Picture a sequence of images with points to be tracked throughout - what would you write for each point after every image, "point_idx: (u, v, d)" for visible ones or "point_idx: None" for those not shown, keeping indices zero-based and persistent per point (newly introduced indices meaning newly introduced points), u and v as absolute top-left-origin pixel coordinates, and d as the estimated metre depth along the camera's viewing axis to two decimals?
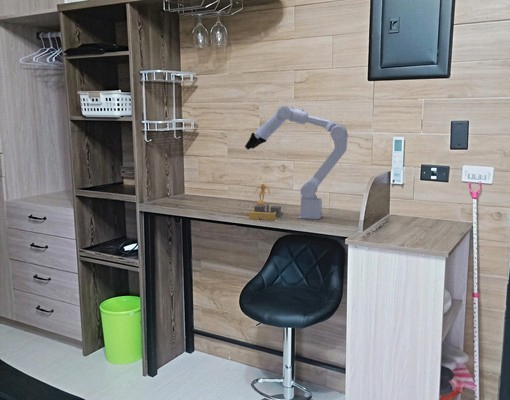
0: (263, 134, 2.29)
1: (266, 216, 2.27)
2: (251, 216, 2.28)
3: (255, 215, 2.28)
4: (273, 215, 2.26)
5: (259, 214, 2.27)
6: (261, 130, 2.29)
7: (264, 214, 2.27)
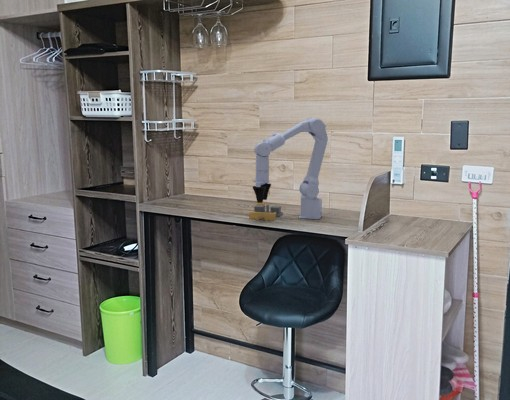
0: (262, 180, 2.23)
1: (266, 216, 2.27)
2: (251, 216, 2.28)
3: (255, 215, 2.28)
4: (273, 215, 2.26)
5: (259, 214, 2.27)
6: (258, 178, 2.23)
7: (264, 214, 2.27)
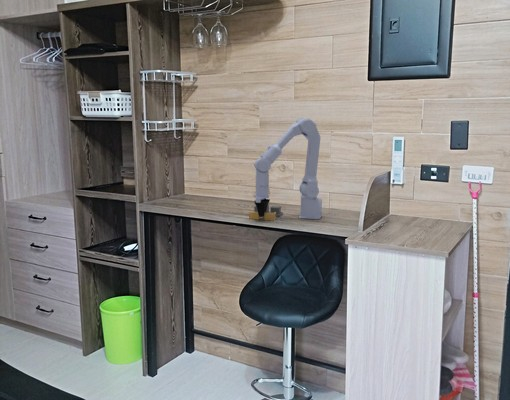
0: (262, 195, 2.24)
1: (266, 216, 2.27)
2: (251, 215, 2.28)
3: (255, 215, 2.28)
4: (273, 215, 2.26)
5: None
6: (258, 194, 2.24)
7: (264, 214, 2.27)
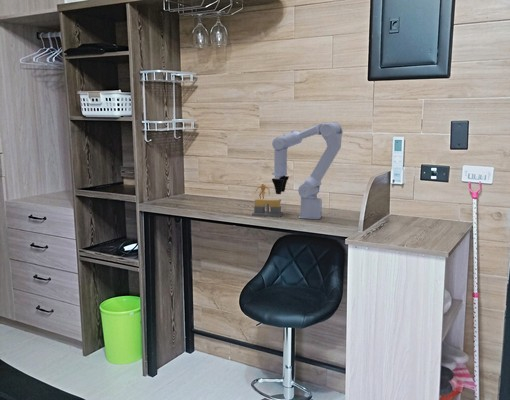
0: (280, 172, 2.34)
1: (271, 203, 2.35)
2: (257, 203, 2.37)
3: (261, 202, 2.37)
4: (278, 202, 2.34)
5: (265, 201, 2.36)
6: (276, 171, 2.35)
7: (269, 201, 2.36)
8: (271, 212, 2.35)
